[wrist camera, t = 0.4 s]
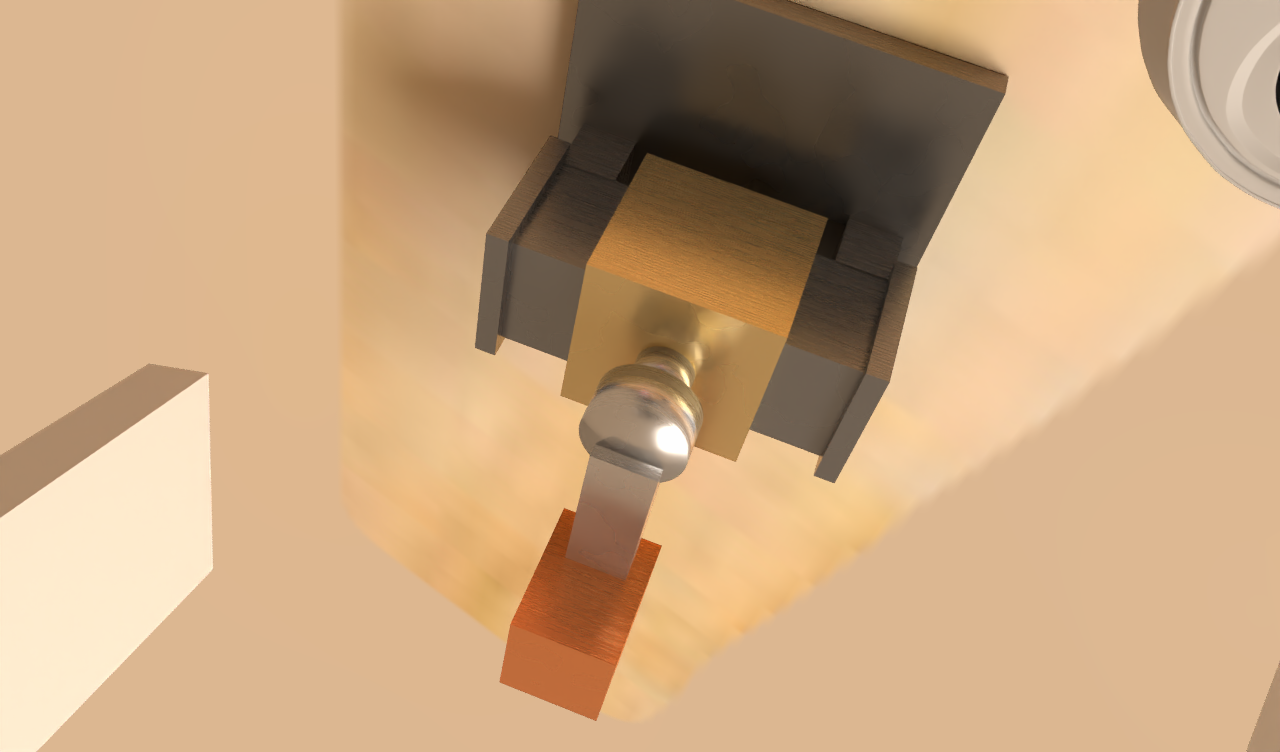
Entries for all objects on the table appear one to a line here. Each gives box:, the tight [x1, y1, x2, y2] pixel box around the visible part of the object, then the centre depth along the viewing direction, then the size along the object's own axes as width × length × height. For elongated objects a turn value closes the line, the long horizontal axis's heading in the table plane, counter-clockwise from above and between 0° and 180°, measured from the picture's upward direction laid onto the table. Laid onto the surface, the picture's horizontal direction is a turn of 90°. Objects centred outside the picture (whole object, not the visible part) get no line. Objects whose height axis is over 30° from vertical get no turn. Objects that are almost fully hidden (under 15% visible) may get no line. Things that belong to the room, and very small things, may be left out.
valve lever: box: [500, 364, 704, 721], centre depth 30 cm, size 10×3×4 cm, turn 170°
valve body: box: [475, 0, 1008, 483], centre depth 31 cm, size 14×11×8 cm
